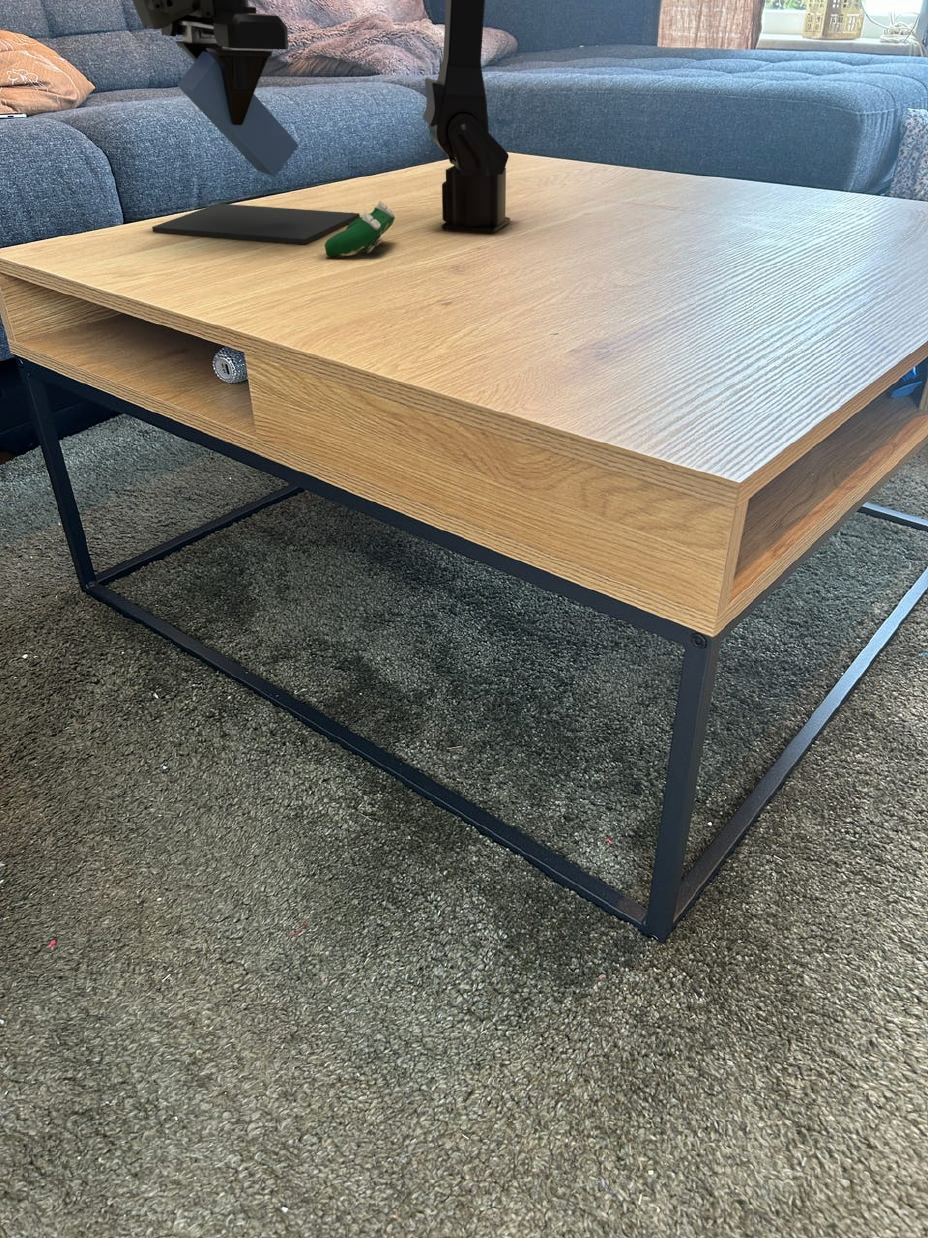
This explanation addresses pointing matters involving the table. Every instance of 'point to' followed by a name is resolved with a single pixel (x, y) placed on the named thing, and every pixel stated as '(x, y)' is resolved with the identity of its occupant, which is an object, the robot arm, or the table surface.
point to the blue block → (260, 129)
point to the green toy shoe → (361, 233)
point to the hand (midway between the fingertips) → (228, 121)
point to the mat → (258, 223)
